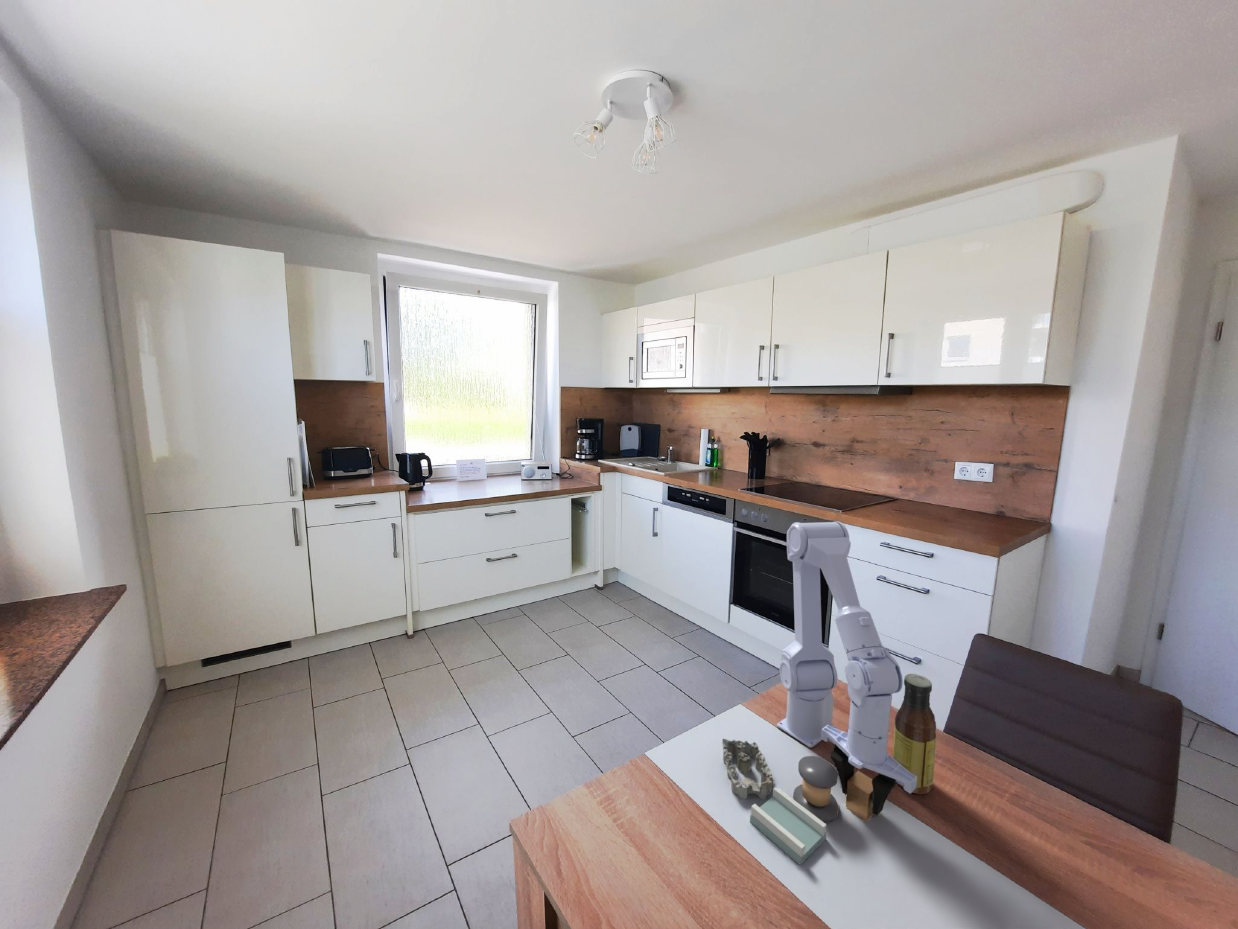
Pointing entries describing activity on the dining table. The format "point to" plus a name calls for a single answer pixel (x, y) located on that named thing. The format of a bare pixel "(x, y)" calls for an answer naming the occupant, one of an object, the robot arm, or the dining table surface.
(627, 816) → the dining table surface
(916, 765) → the sauce bottle
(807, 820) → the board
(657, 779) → the dining table surface
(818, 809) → the spool
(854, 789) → the wooden block
